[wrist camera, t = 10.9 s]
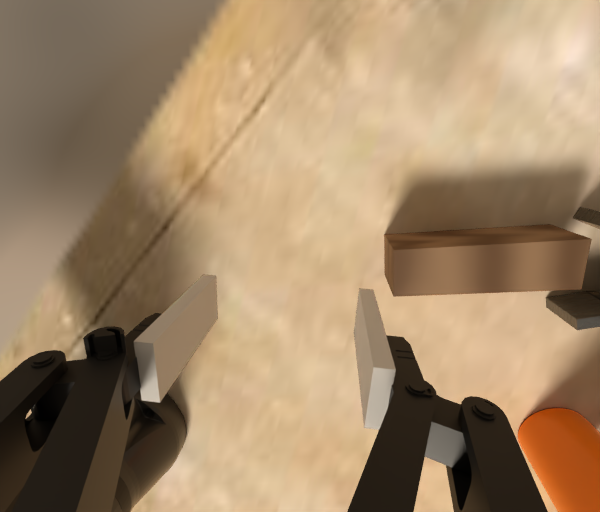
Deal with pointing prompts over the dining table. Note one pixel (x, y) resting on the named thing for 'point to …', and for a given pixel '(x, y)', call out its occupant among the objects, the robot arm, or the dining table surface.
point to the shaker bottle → (564, 457)
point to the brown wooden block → (485, 260)
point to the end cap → (582, 305)
